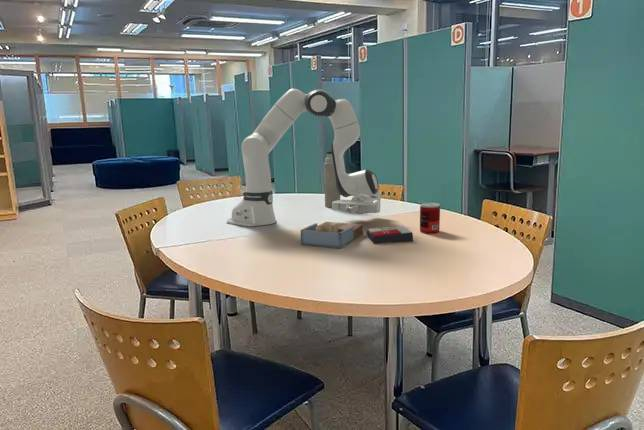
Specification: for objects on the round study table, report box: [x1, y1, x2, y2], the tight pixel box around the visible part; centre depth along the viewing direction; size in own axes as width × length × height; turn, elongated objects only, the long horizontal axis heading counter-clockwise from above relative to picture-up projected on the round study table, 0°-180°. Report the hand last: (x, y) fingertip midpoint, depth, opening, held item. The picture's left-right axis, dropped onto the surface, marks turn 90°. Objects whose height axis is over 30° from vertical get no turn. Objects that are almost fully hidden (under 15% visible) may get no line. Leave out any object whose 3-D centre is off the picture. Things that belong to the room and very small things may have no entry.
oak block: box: [316, 221, 339, 233], centre depth 185 cm, size 5×6×9 cm
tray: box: [300, 222, 354, 249], centre depth 185 cm, size 16×12×6 cm
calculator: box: [366, 225, 414, 245], centre depth 189 cm, size 11×4×15 cm
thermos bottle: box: [323, 150, 341, 209], centre depth 253 cm, size 8×8×28 cm
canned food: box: [419, 202, 441, 235], centre depth 198 cm, size 8×8×11 cm
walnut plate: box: [317, 221, 364, 242], centre depth 195 cm, size 16×10×4 cm, turn 64°
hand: (348, 209), depth 202 cm, fingers closed
